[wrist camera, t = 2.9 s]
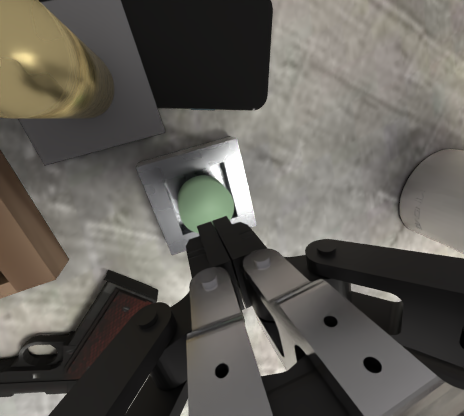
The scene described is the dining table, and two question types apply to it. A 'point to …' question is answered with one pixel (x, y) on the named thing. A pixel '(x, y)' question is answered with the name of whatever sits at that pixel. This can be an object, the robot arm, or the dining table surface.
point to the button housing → (184, 168)
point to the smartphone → (203, 51)
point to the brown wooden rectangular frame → (24, 239)
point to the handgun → (76, 341)
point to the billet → (47, 67)
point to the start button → (203, 201)
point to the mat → (125, 86)
